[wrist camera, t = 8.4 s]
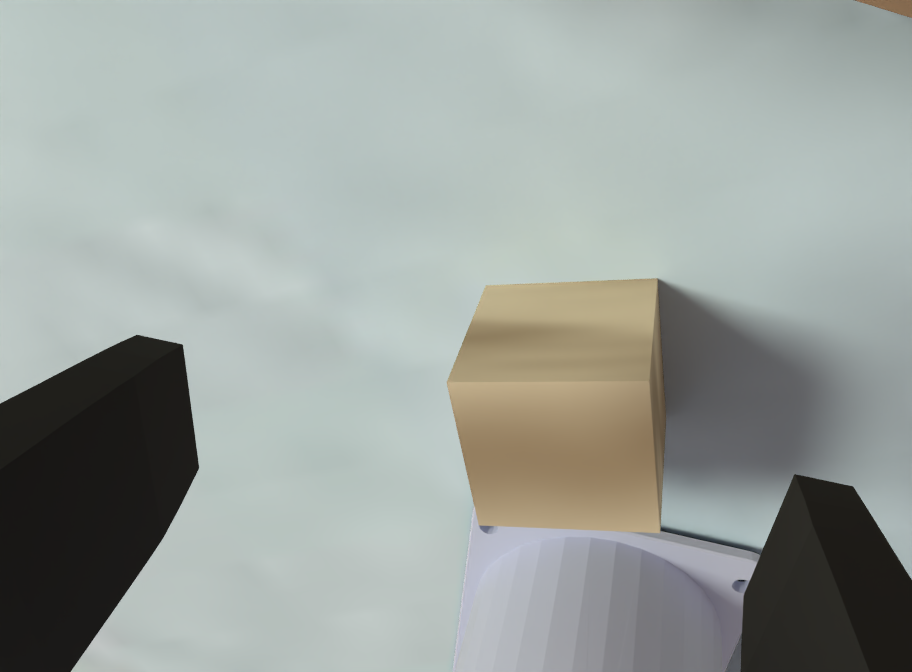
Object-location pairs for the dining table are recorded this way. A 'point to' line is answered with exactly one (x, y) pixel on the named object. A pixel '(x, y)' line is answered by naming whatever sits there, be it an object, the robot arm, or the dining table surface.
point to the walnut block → (892, 5)
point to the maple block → (564, 406)
